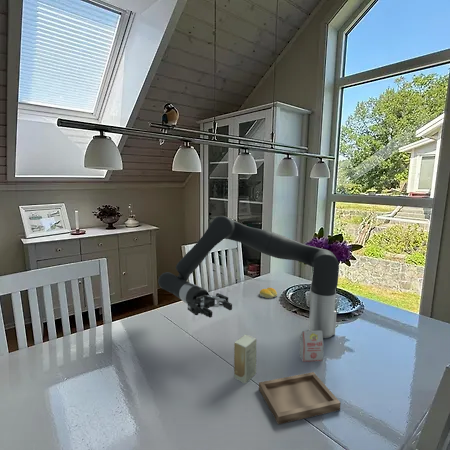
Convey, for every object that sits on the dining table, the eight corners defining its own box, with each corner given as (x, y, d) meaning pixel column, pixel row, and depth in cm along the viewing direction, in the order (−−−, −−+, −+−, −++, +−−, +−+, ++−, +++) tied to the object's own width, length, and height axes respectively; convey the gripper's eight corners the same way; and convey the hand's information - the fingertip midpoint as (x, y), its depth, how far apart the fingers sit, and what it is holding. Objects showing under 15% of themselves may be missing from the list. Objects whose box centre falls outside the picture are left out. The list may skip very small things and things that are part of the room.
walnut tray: (313, 378, 92) (313, 371, 91) (340, 410, 79) (340, 402, 79) (258, 389, 87) (258, 382, 86) (278, 424, 74) (278, 416, 74)
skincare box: (245, 368, 96) (246, 333, 94) (256, 373, 93) (257, 338, 92) (233, 378, 91) (233, 341, 89) (244, 384, 89) (245, 347, 87)
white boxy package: (299, 355, 103) (300, 328, 102) (318, 354, 104) (319, 328, 102) (302, 361, 100) (304, 334, 98) (322, 361, 100) (324, 333, 99)
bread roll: (256, 294, 157) (256, 287, 156) (271, 291, 161) (271, 284, 160) (265, 300, 150) (265, 292, 149) (279, 297, 153) (280, 290, 153)
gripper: (177, 290, 105) (204, 306, 93) (209, 281, 114) (237, 294, 102) (177, 310, 106) (204, 328, 94) (208, 300, 115) (237, 315, 103)
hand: (221, 310), depth 98 cm, fingers open, 8 cm apart
